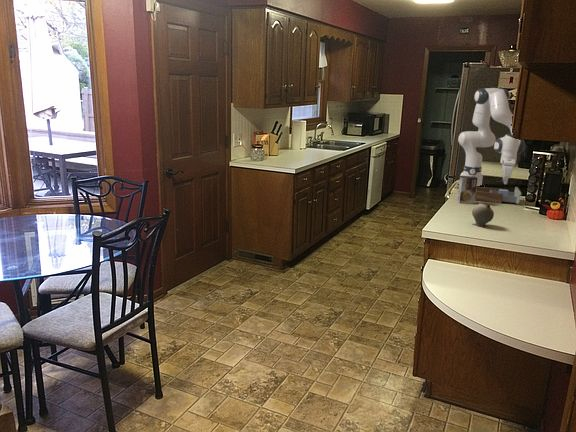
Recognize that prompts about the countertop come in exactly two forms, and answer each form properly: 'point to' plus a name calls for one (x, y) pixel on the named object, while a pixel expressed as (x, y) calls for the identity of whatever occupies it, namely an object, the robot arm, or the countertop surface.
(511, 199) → the tray
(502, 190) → the block
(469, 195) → the coffee box
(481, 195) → the box
